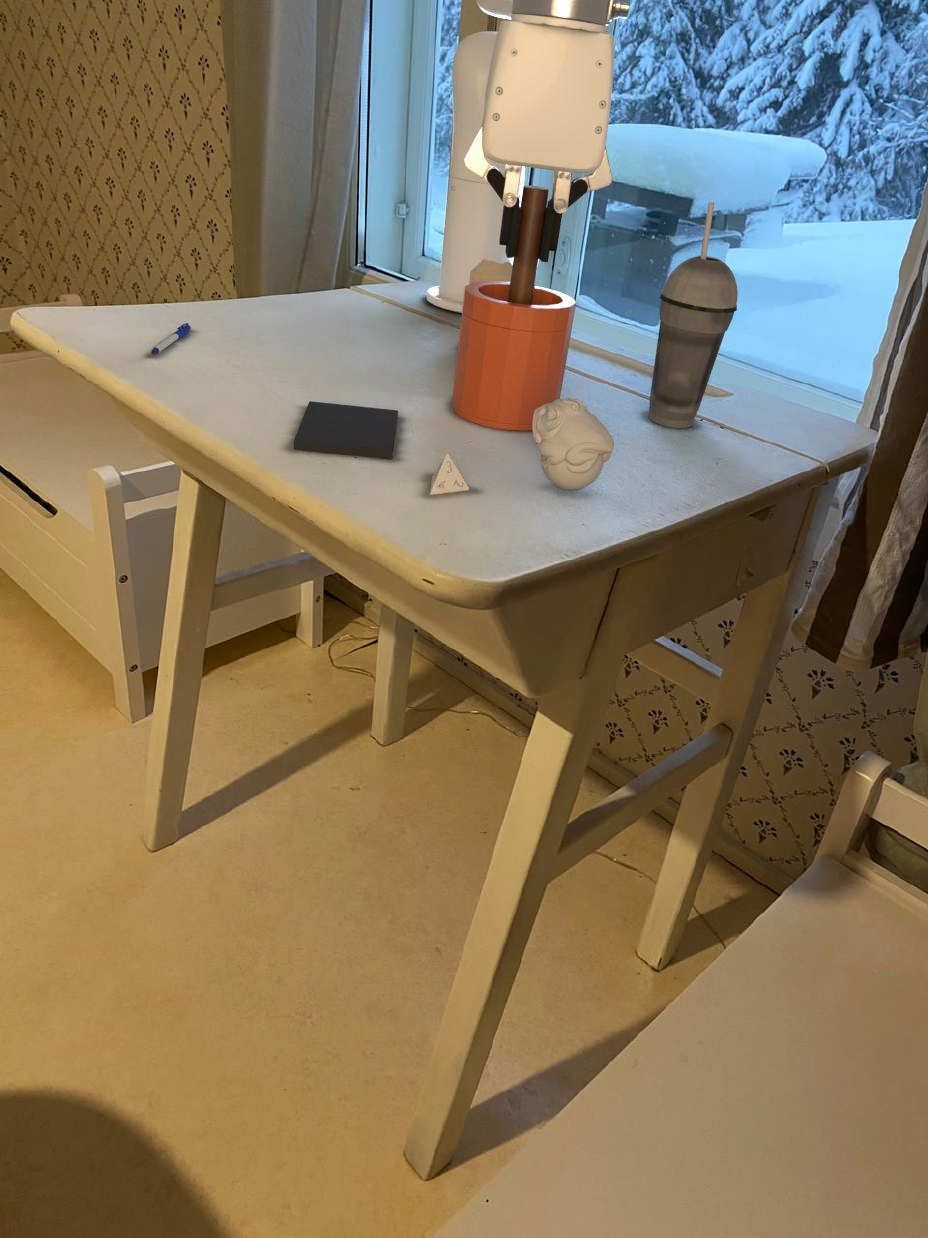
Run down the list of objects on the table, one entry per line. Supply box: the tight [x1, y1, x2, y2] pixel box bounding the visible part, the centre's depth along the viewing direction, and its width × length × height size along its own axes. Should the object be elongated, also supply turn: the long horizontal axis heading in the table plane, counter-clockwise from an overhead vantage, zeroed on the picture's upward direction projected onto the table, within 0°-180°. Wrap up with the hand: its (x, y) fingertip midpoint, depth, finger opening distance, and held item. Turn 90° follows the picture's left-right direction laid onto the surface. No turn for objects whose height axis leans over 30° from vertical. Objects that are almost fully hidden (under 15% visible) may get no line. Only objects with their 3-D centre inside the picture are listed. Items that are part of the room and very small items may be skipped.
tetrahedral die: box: [429, 452, 470, 496], centre depth 71 cm, size 4×3×3 cm
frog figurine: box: [531, 397, 615, 491], centre depth 73 cm, size 6×7×7 cm
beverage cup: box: [647, 201, 739, 429], centre depth 88 cm, size 7×7×20 cm
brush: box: [508, 184, 550, 305], centre depth 83 cm, size 4×4×17 cm
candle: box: [469, 259, 512, 284], centre depth 105 cm, size 6×6×10 cm
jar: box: [451, 281, 577, 432], centre depth 87 cm, size 10×10×11 cm
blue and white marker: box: [150, 322, 192, 355], centre depth 96 cm, size 10×1×1 cm, turn 177°
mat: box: [293, 400, 399, 460], centre depth 80 cm, size 10×8×1 cm
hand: (526, 255), depth 81 cm, fingers closed on brush, 2 cm apart
